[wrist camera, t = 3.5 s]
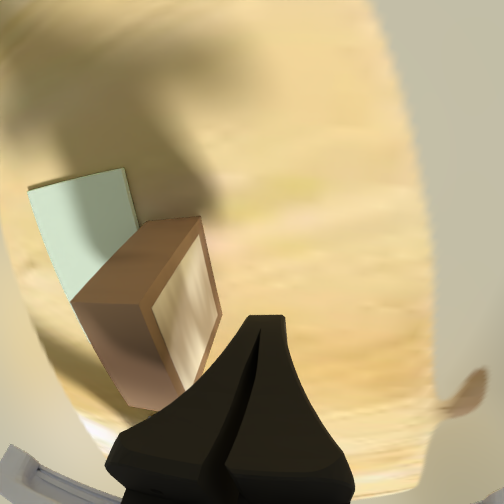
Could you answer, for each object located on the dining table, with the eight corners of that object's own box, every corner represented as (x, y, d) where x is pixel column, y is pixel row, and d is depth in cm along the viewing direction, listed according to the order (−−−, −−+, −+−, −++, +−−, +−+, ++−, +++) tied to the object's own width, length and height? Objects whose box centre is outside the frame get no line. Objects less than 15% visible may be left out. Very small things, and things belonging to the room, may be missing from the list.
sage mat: (179, 349, 20) (178, 352, 20) (92, 341, 22) (90, 343, 21) (124, 167, 15) (121, 169, 14) (29, 190, 16) (26, 191, 16)
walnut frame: (222, 314, 18) (188, 415, 12) (174, 313, 19) (128, 405, 13) (201, 216, 16) (139, 304, 9) (146, 221, 16) (69, 301, 10)
